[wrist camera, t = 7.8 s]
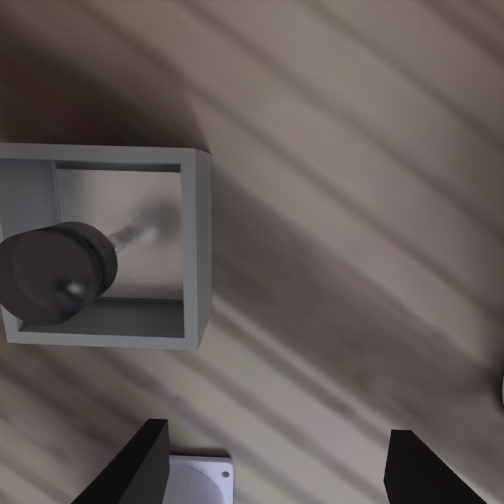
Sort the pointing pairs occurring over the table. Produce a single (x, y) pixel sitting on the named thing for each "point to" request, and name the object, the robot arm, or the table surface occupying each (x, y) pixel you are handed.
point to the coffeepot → (503, 390)
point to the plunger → (97, 246)
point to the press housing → (114, 308)
